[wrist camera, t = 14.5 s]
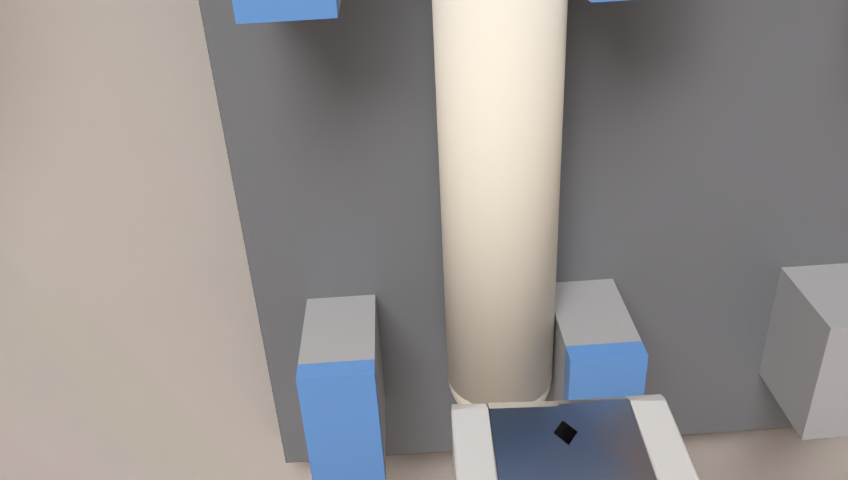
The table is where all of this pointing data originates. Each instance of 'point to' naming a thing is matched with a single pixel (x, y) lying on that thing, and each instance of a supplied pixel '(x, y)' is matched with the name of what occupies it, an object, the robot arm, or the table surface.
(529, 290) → the white capsule
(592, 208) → the grey peg board
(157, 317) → the table surface
